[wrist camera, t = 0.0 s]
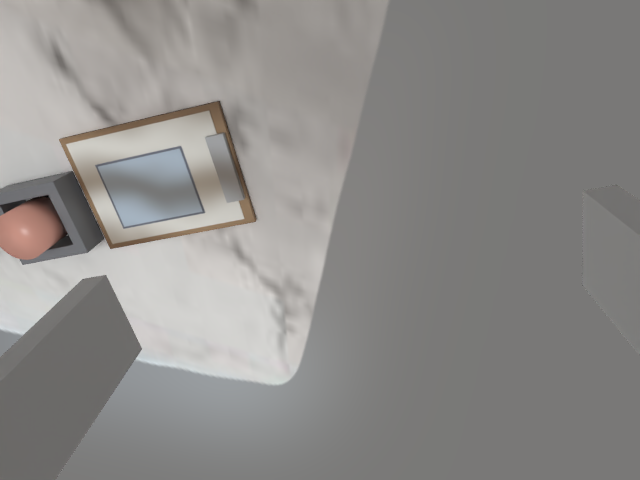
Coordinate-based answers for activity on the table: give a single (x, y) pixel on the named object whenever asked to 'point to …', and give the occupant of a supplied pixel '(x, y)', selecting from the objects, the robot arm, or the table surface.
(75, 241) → the button housing
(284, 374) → the table surface
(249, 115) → the table surface
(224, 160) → the picture frame
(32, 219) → the button
